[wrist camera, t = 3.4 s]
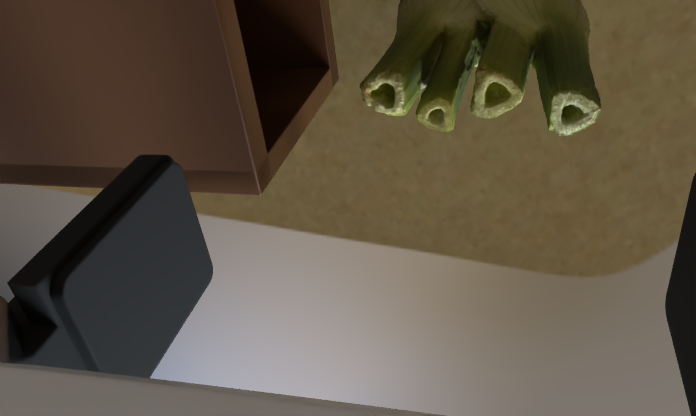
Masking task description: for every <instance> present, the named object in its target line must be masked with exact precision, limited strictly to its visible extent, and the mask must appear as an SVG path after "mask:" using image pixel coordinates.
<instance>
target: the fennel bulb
mask: <svg viewBox="0 0 696 416" xmlns="http://www.w3.org/2000/svg"><path fill="white" fill-rule="evenodd" d="M589 26H590V23H589V19H588V17H587V13H586V10H585V9H584V7H583V5H582V3H581V1H580V0H400V4H399V9H398V17H397V32H396V35H395V39H394V41H393V43H392V44H391V46H390V47H389V49H388V50H387V51H386V53H385V54H384V56H383V57H382V58H381V60H380V61H379V62H378V64H377V65H376V66H375V67H374V69H373V70H372V71H371V72H370V73H369V75H368V76H367V77H366V78H365V79H364V80H363V81H362V82H361V84H360V88H361V91H362V94H361V95H362V97H363V101H364V102H365V103H366V104H367V105H368V106H370V107H371V108H373V109H374V110H375V111H377V112H382V113H385V114H388V115H392V116H394V115H395V116H396V117H397V116H402V115H405V114H407V112H408V111H409V109H410V108H411V107H412V105H413V103H414V102H415V100H416V99H417V97H418V96H419V95H420V94H421V93H422V89H423V88H424V87H426V89H425V91H424V92H423V93H422V95H421V100H420V102H419V104H418V107H417V110H416V115H417V116H416V117H417V118H418V121H419V122H421V123H422V124H423V125H425V126H426V127H428V128H431V129H434V130H438V131H441V132H449V131H451V130H452V129H453V128H454V122H455V118H456V114H457V112H458V108H459V105H460V102H461V100H462V97H463V94H464V92H465V89H466V87H467V85H468V82H469V79H470V77H471V75H472V71H473V69H474V66H475V67H477V71H476V73H475V77H476V82H475V85H474V92H473V93H474V94H473V97H472V101H471V106H470V107H471V113H472V114H474V115H476V116H478V117H483V118H494V117H496V116H498V115H501V114H503V113H505V112H506V111H508V110H511V109H512V108H513V107H514V106H516V105H517V104H519V103H520V102H521V100H522V98H523V95H524V91H525V87H526V82H527V75H528V71H529V66H532V67H533V68H534V69H535V70H536V73H537V79H538V84H539V90H540V96H541V99H542V103H543V108H544V112H545V114H546V118H547V124H548V130H552V131H554V132H555V133H557V134H558V135H560V136H561V135H564V136H567V135H573V134H574V133H576V132H577V131H581V130H584V129H586V128H587V127H588V126H590V125H591V124H593V123H594V122H595V121H596V119H597V118H598V116H599V115H600V111H601V103H600V97H599V94H598V92H597V89H596V87H595V82H594V78H593V74H592V71H591V68H590V62H589V60H590V59H589V48H588V44H589V34H590V29H589Z"/></svg>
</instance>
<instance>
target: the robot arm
mask: <svg viewBox="0 0 696 416" xmlns="http://www.w3.org/2000/svg"><path fill="white" fill-rule="evenodd" d="M212 275H213V266H212V262H211V258H210V255H209V252H208V249H207V246H206V243H205V239H204V236H203V233H202V230H201V227H200V224H199V221H198V217H197V214H196V211H195V208H194V205H193V202H192V198H191V195H190V192H189V189H188V186H187V183H186V180H185V176H184V173H183V170H182V168H181V166H180V164H179V163H177V162H174V160H173V159H172V158H171V156H168V155H145V154H144V155H139V156H138V157H136V158H135V159H134V160H133V161H132V162H131V163H130V164H129V165H128V166H127V167H126V168H125V169H124V170H123V171H122V172H121V173H120V174H119V175H118V176H117V177H116V178H115V179H114V180H113V181H112V182H111V183H110V184H109V185H108V186H106V187H105V188H104V189H103V190H102V191H101V192H100V193H99V194H98V195H97V196H96V197H95V198H94V199H93V200H92V201H91V202H90V203H89V204H88V205H87V206H86V207H85V208H84V209H83V210H82V211H81V212H80V213H79V214H78V215H77V216H76V217H75V218H73V219H72V220H71V221H70V222H69V223H68V224H67V225H66V226H65V227H64V228H63V229H62V230H61V231H60V232H59V233H58V234H57V235H56V236H55V237H54V238H53V239H52V240H51V241H50V242H49V243H48V244H47V245H46V246H45V247H44V248H43V249H42V250H40V251H39V253H37V254H36V255H35V256H34V257H33V259H31V260H30V261H29V262H28V263H27V264H26V265H25V266H24V267H23V268H22V269H21V270H20V271H19V272H18V273H17V274H16V275H15V276H14V277H13V278H12V279H11V280H10V281H9V282H8V285H9V287H10V289H11V290H12V292H13V294H14V296H15V297H14V298H13V299H12V300H11V301H10V302H9V303H7V301H6V300H5V299H4V298H3V297H1V296H0V416H443V415H436V414H429V413H421V412H414V411H406V410H398V409H391V408H383V407H375V406H367V405H360V404H352V403H343V402H335V401H328V400H321V399H312V398H305V397H296V396H289V395H281V394H273V393H265V392H257V391H249V390H241V389H233V388H225V387H217V386H209V385H200V384H193V383H192V384H191V383H184V382H176V381H167V380H158V379H151V378H150V376H151V375H152V373H153V372H154V370H155V368H156V367H157V365H158V364H159V362H160V361H161V359H162V357H163V356H164V354H165V353H166V351H167V349H168V348H169V346H170V345H171V343H172V342H173V340H174V338H175V337H176V335H177V334H178V332H179V330H180V329H181V327H182V326H183V324H184V323H185V321H186V319H187V318H188V316H189V315H190V313H191V312H192V310H193V308H194V307H195V305H196V304H197V302H198V300H199V299H200V297H201V296H202V294H203V293H204V291H205V289H206V288H207V286H208V285H209V283H210V281H211V278H212ZM665 306H666V307H665V308H666V317H667V321H668V325H669V329H670V332H671V336H672V341H673V345H674V349H675V353H676V357H677V361H678V364H679V369H680V373H681V377H682V381H683V385H684V389H685V393H686V397H687V401H688V405H689V408H690V413H691V416H696V173H695V175H694V177H693V181H692V185H691V190H690V194H689V198H688V203H687V207H686V211H685V216H684V220H683V224H682V229H681V233H680V237H679V242H678V246H677V251H676V255H675V259H674V264H673V268H672V272H671V277H670V281H669V286H668V290H667V294H666V304H665Z"/></svg>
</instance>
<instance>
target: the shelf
mask: <svg viewBox="0 0 696 416" xmlns="http://www.w3.org/2000/svg"><path fill="white" fill-rule="evenodd" d="M338 79H339V77H338V70H337V62H336V55H335V47H334V40H333V33H332V25H331V18H330V10H329V3H328V0H0V184H17V185H39V186H61V187H84V188H105V187H106V186H108V185H109V184H110V183H111V182H112V181H113V180H114V179H115V178H116V177H117V176H118V175H119V174H120V173H121V172H122V171H123V170H124V169H125V168H126V167H127V166H128V165H129V164H130V163H131V162H132V161H133V160H134V159H135V158H136V157H138V156H139V155H144V154H145V155H168V156H171V158H172V159H173V160H174V162H177V163H179V164H180V166H181V168H182V170H183V173H184V176H185V180H186V183H187V186H188V189H189V192H196V193H218V194H240V195H261V194H262V193H263V191H264V190H265V188H266V187H267V185H268V184H269V182H270V181H271V179H272V178H273V176H274V175H275V174H276V172H277V171H278V169H279V168H280V166H281V165H282V163H283V162H284V160H285V159H286V157H287V156H288V154H289V153H290V151H291V150H292V148H293V147H294V145H295V144H296V142H297V141H298V139H299V138H300V136H301V135H302V133H303V132H304V130H305V129H306V127H307V126H308V124H309V123H310V121H311V120H312V118H313V117H314V115H315V114H316V112H317V111H318V110H319V108H320V107H321V105H322V104H323V102H324V101H325V99H326V98H327V96H328V95H329V93H330V92H331V90H332V89H333V87H334V85H335V84H336V82H337V81H338Z"/></svg>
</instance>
